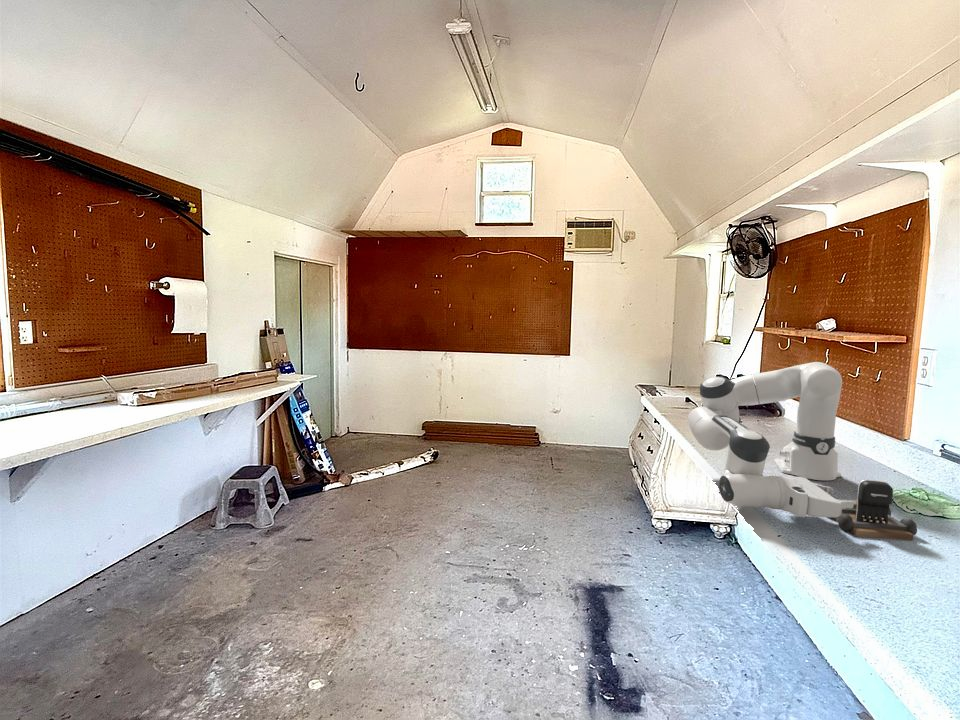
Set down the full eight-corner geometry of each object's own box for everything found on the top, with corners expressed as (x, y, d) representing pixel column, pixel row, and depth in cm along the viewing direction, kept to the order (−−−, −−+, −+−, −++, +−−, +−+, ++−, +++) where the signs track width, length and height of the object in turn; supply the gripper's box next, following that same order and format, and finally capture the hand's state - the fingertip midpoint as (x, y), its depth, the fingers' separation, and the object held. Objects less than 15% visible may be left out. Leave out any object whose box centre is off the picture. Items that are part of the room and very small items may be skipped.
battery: (859, 525, 130) (864, 482, 129) (853, 519, 134) (857, 478, 132) (891, 529, 128) (896, 486, 127) (884, 523, 131) (889, 481, 130)
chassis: (815, 509, 144) (816, 495, 143) (877, 513, 141) (879, 499, 141) (849, 535, 127) (850, 520, 127) (920, 541, 125) (922, 525, 124)
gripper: (768, 490, 146) (820, 494, 144) (802, 520, 126) (862, 524, 124) (770, 469, 145) (822, 472, 143) (804, 495, 125) (865, 500, 123)
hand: (841, 497), depth 133 cm, fingers open, 8 cm apart
